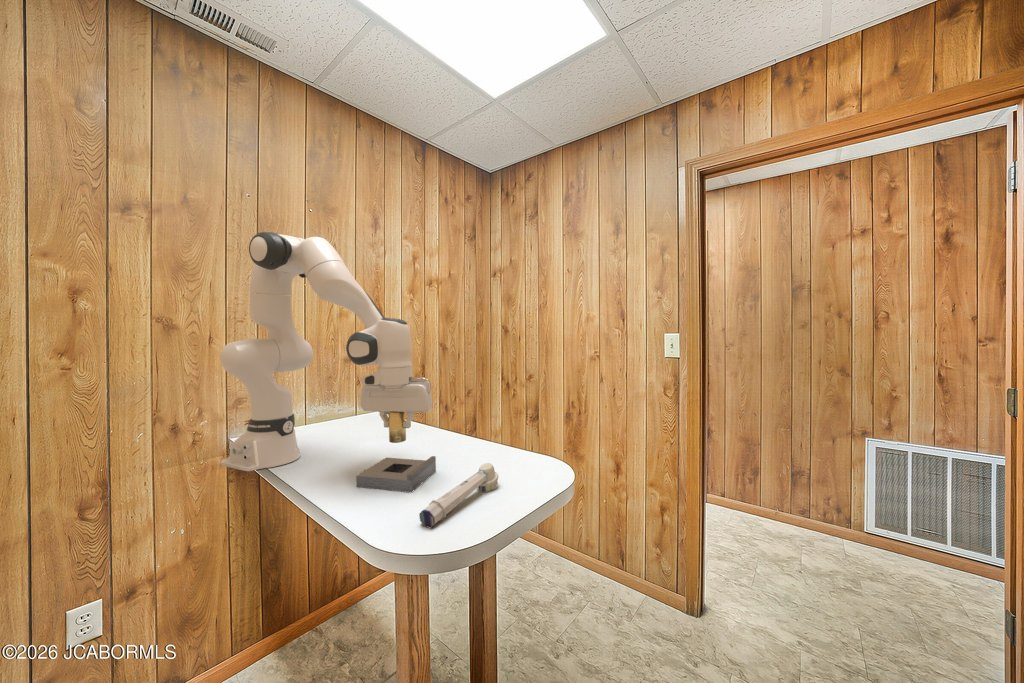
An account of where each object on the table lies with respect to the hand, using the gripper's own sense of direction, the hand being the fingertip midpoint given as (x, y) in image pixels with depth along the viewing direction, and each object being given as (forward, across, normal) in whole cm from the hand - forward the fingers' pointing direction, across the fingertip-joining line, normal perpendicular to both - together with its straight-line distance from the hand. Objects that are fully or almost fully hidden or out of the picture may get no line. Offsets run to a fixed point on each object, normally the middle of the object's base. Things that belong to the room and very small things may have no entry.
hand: (397, 427), depth 101 cm
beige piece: (+15, -23, +9) cm, 29 cm away
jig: (+14, 0, 0) cm, 14 cm away
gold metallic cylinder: (+4, 0, 0) cm, 4 cm away
